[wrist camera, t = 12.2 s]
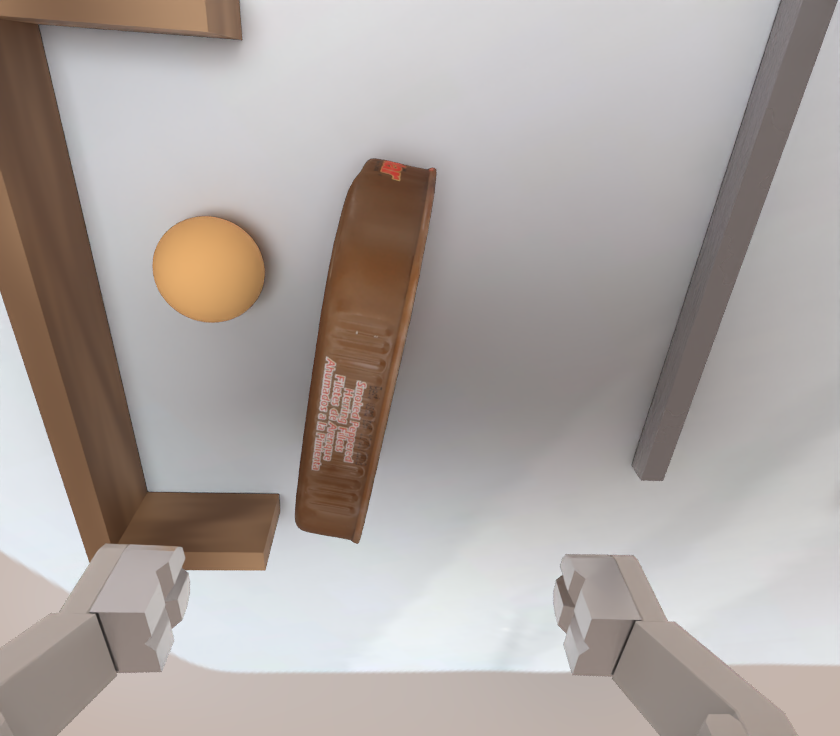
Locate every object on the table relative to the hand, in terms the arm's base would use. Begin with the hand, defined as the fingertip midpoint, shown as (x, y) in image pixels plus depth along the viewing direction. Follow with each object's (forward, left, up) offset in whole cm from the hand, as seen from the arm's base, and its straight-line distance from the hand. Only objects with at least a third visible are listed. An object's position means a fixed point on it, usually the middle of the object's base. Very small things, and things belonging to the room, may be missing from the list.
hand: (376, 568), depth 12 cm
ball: (+7, -2, -12) cm, 14 cm away
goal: (+9, 0, -14) cm, 17 cm away
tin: (+1, 0, -14) cm, 14 cm away
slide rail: (-14, -8, -14) cm, 21 cm away
